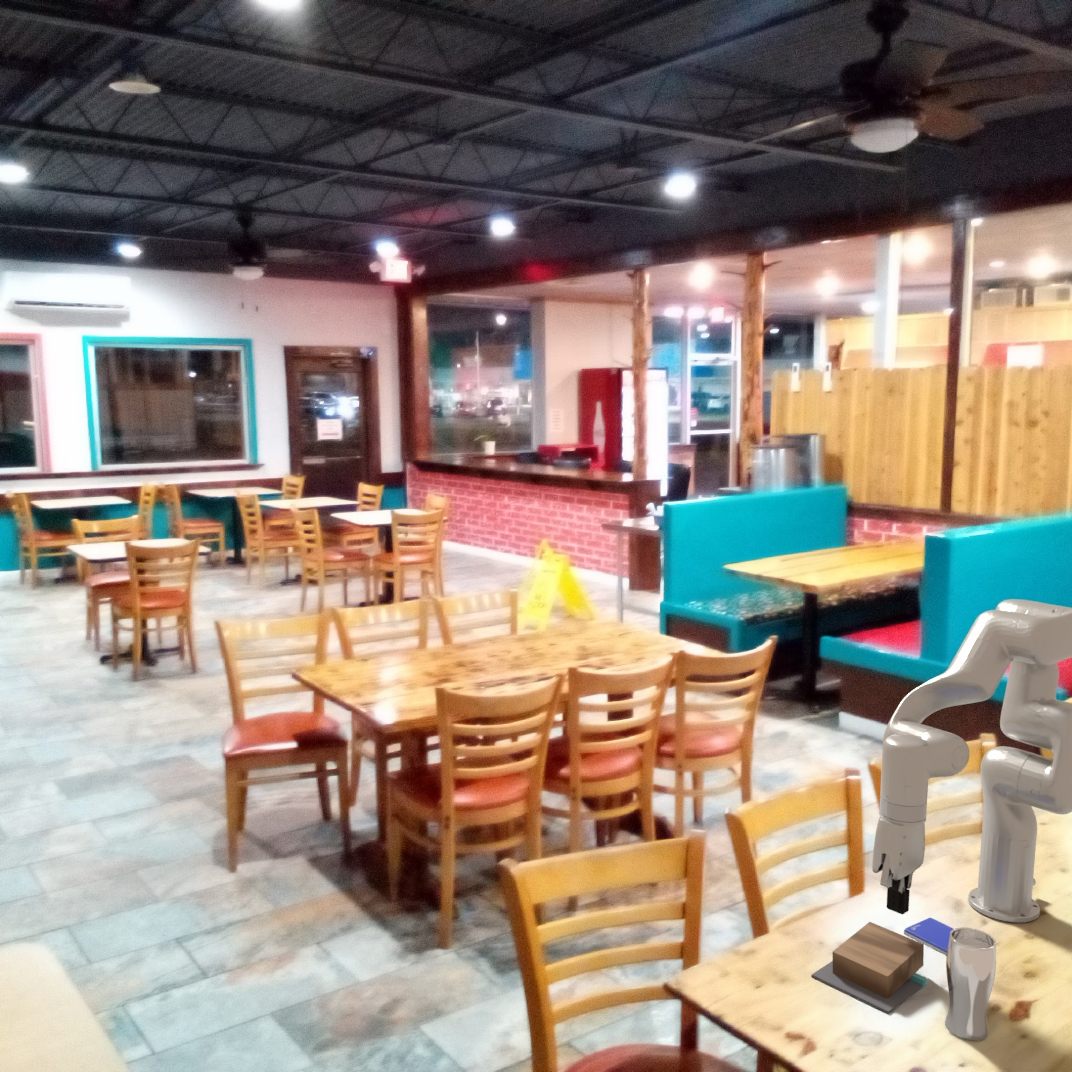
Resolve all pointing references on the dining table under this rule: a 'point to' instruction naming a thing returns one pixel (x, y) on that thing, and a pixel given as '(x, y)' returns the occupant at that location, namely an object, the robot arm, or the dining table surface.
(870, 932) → the slab
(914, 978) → the stop strip
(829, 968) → the mat
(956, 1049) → the dining table surface
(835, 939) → the dining table surface
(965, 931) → the beer glass
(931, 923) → the hard drive
